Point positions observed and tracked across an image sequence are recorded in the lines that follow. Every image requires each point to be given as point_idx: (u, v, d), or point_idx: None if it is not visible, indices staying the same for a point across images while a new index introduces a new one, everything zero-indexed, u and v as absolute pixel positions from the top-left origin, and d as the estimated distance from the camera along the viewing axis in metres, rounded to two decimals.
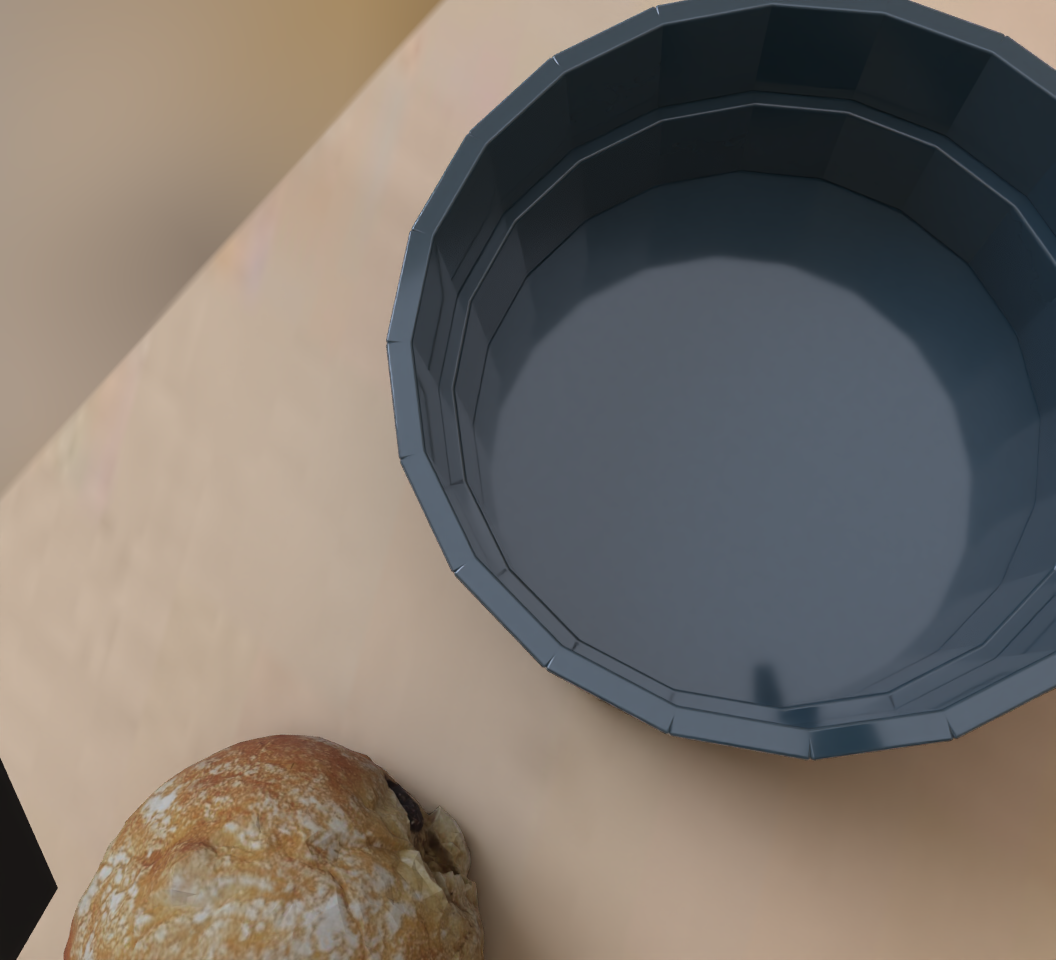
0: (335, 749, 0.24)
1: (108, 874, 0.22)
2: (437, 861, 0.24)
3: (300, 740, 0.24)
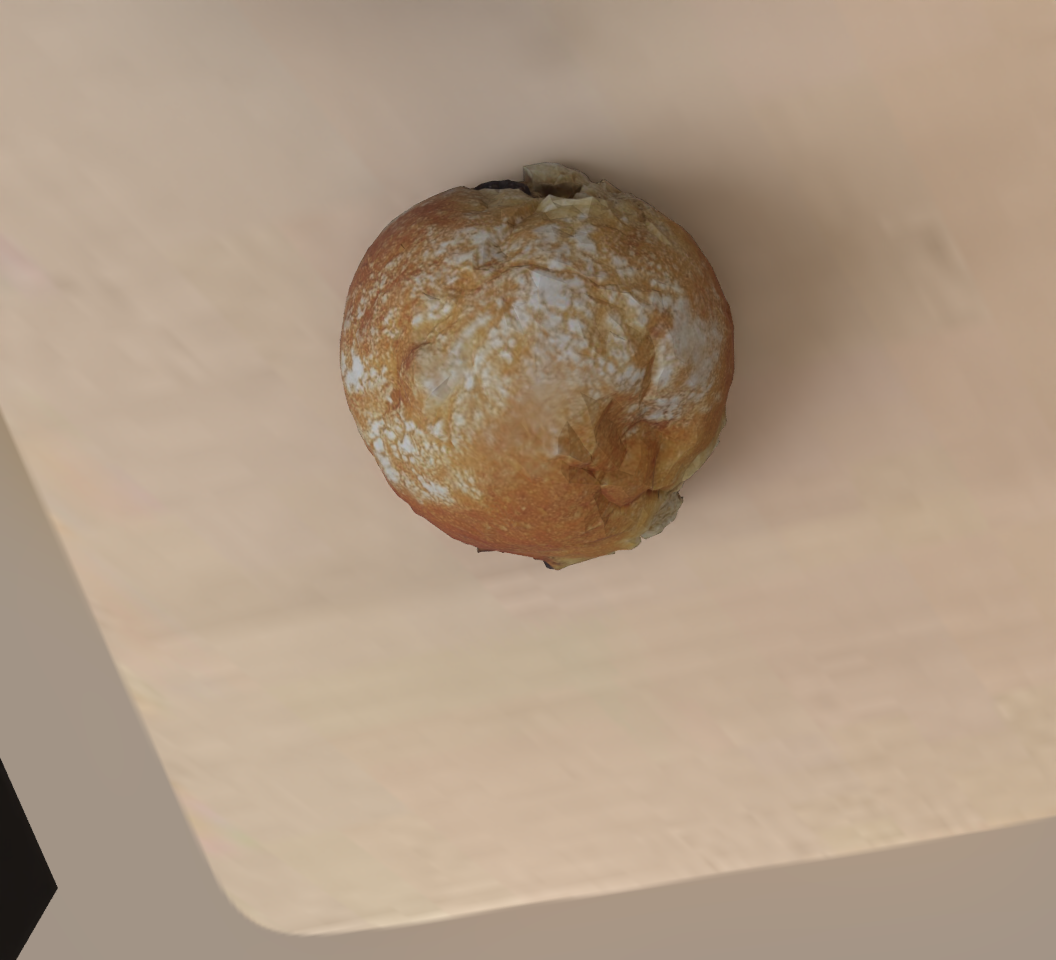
0: (414, 209, 0.23)
1: (382, 443, 0.23)
2: (564, 198, 0.24)
3: (385, 232, 0.23)
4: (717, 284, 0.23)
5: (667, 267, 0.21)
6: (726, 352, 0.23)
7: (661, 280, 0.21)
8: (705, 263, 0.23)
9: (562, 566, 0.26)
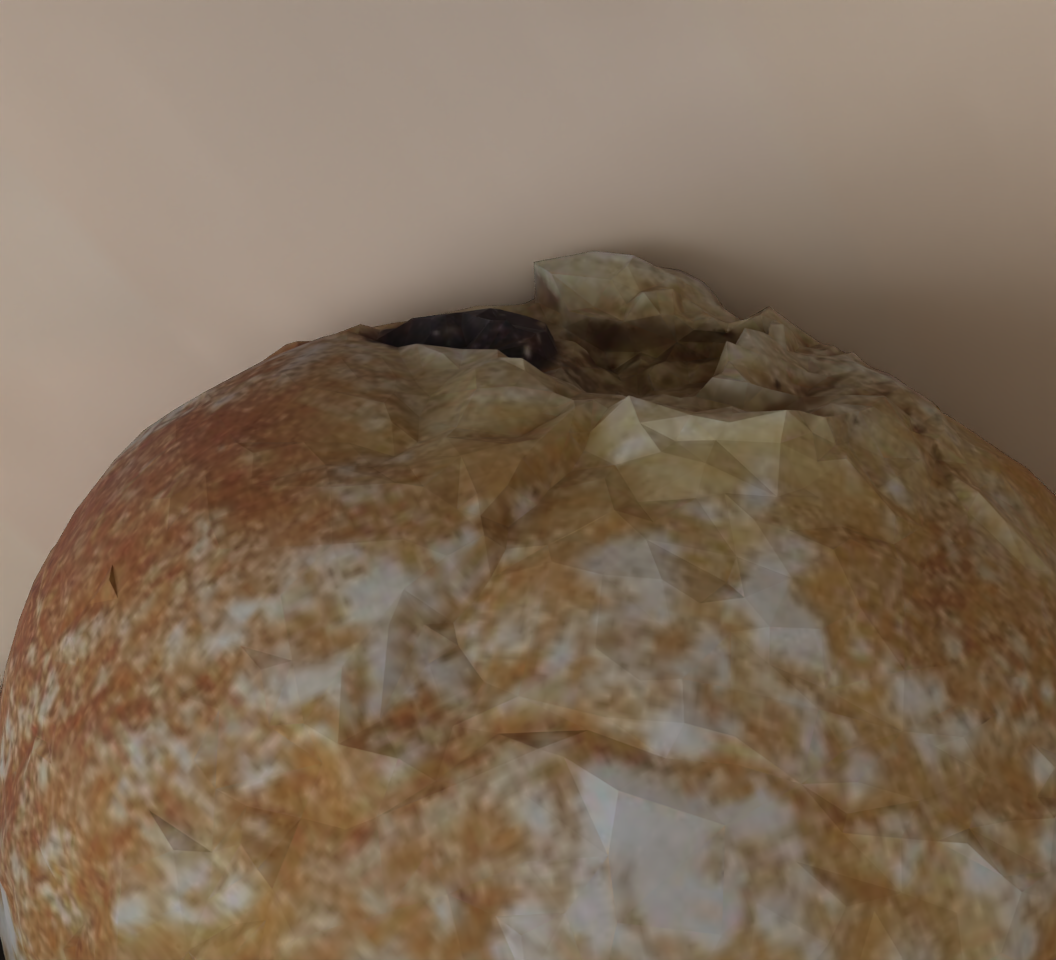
0: (190, 415, 0.07)
1: None
2: (653, 358, 0.08)
3: (100, 487, 0.07)
4: None
5: None
6: None
7: None
8: None
9: None
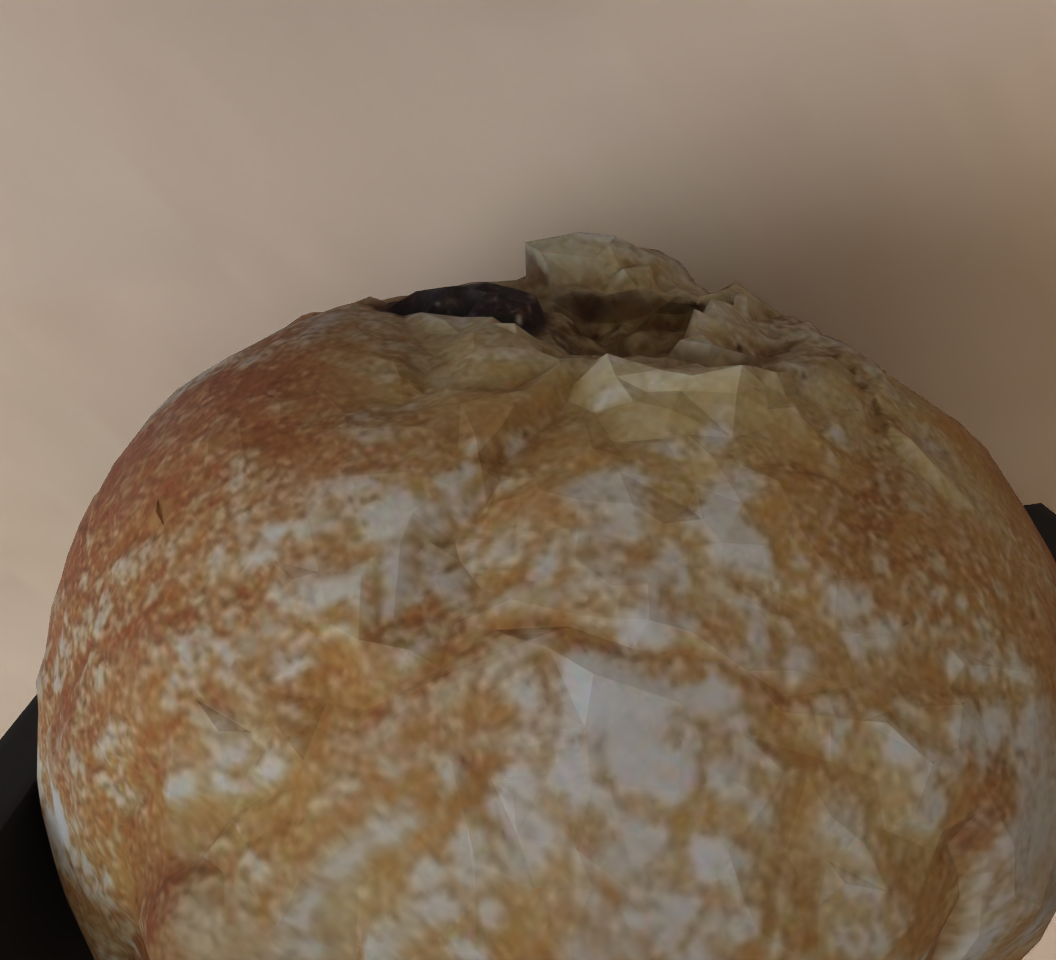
0: (220, 374, 0.08)
1: None
2: (631, 329, 0.09)
3: (140, 438, 0.08)
4: None
5: (984, 599, 0.07)
6: None
7: (975, 652, 0.07)
8: (1035, 533, 0.08)
9: None
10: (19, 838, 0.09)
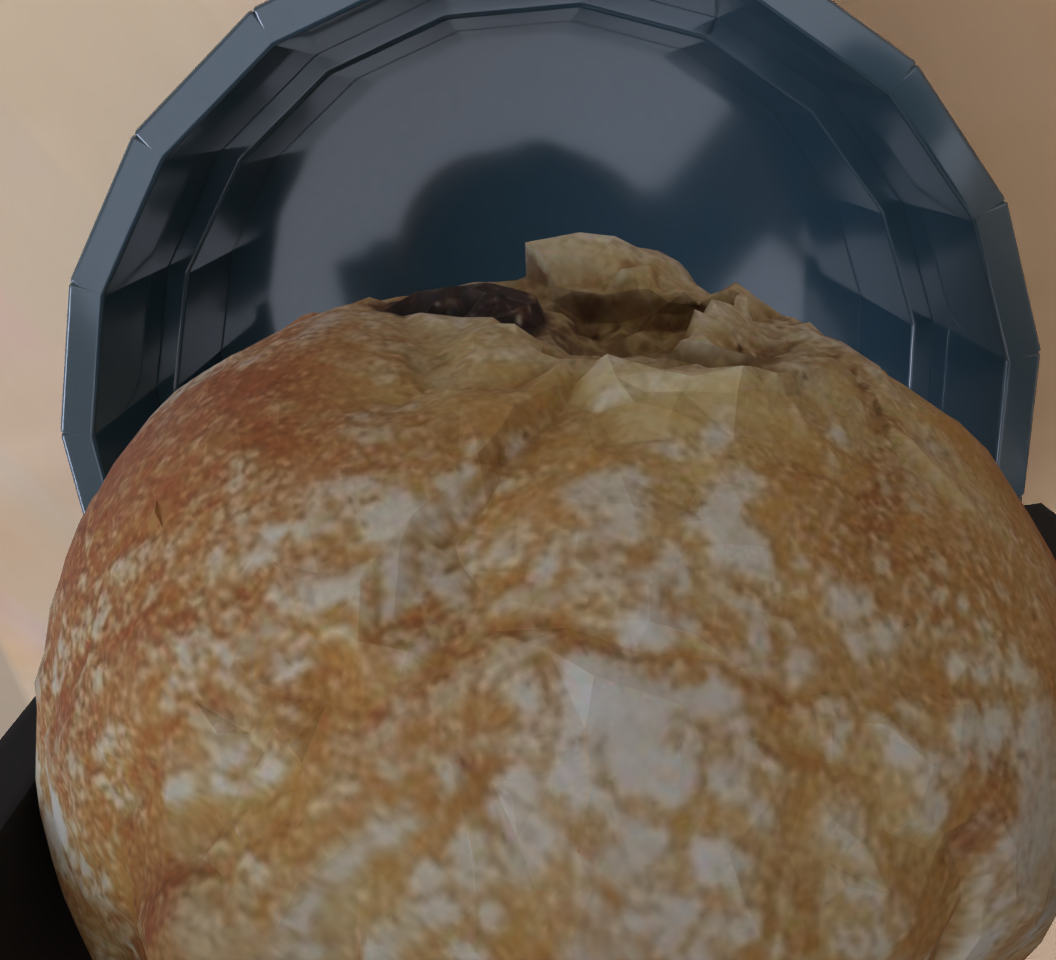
0: (220, 374, 0.08)
1: None
2: (632, 328, 0.09)
3: (139, 438, 0.08)
4: None
5: (984, 601, 0.07)
6: None
7: (977, 654, 0.07)
8: (1037, 534, 0.08)
9: None
10: (19, 838, 0.09)
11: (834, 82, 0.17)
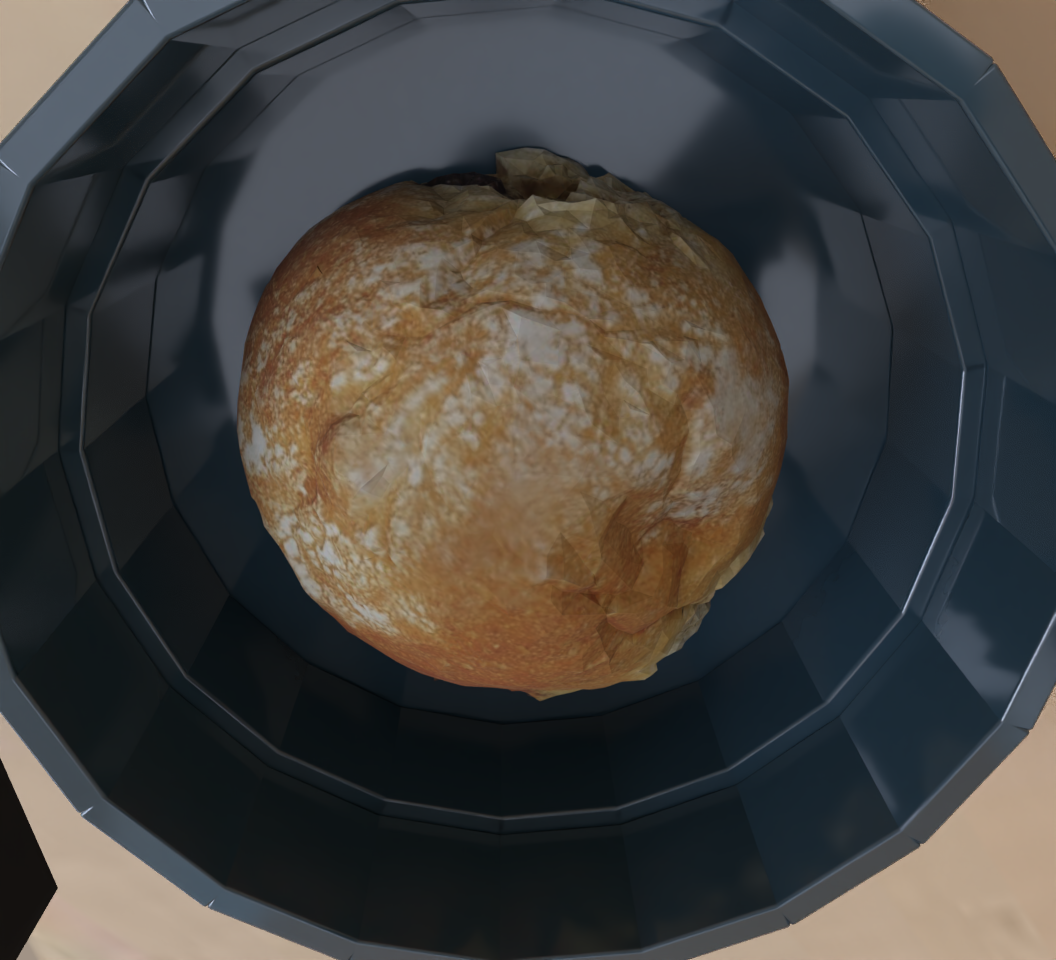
0: (339, 213, 0.16)
1: (296, 545, 0.16)
2: (553, 199, 0.17)
3: (297, 246, 0.16)
4: (770, 323, 0.16)
5: (705, 303, 0.15)
6: (782, 419, 0.16)
7: (697, 323, 0.15)
8: (753, 293, 0.16)
9: (549, 697, 0.19)
10: None
11: (881, 83, 0.13)
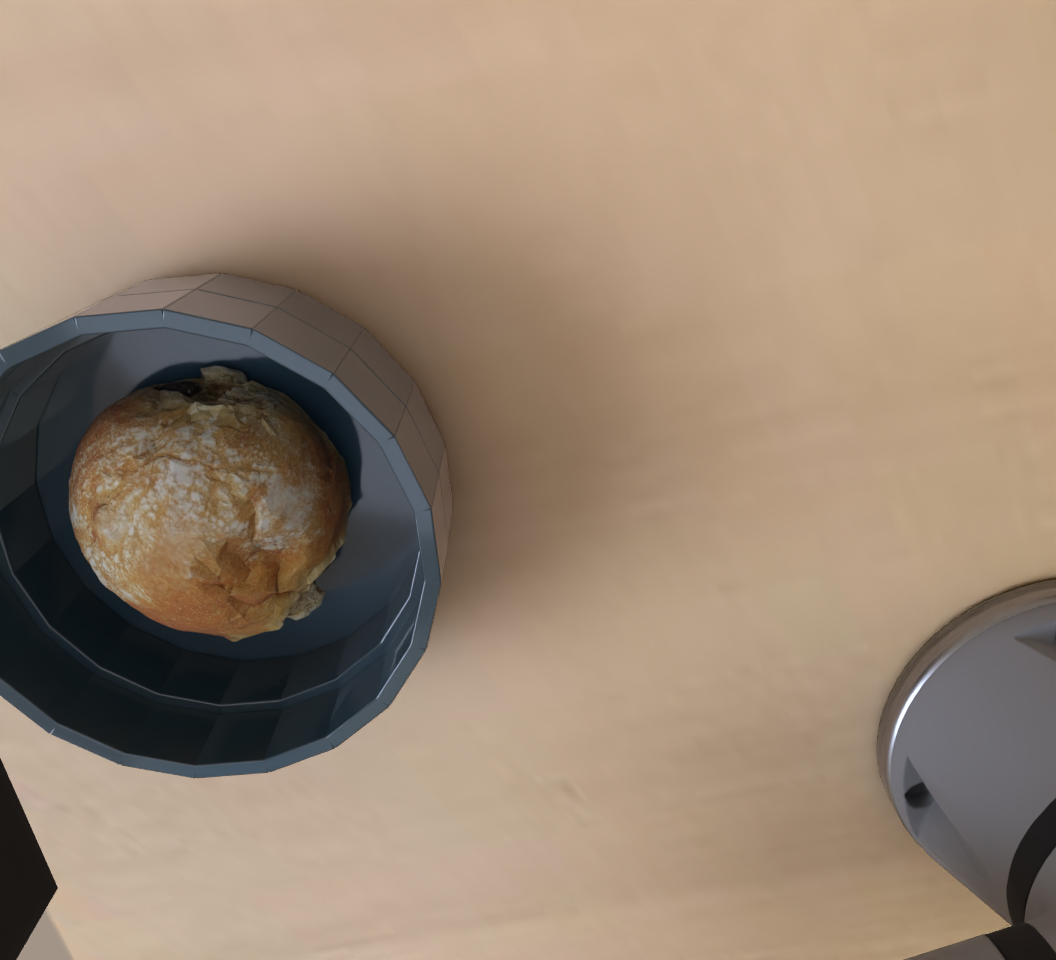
0: (113, 405, 0.34)
1: (94, 561, 0.34)
2: None
3: (94, 420, 0.34)
4: (316, 457, 0.34)
5: (267, 453, 0.33)
6: (323, 502, 0.34)
7: (261, 463, 0.33)
8: (308, 443, 0.34)
9: (237, 639, 0.37)
10: None
11: None
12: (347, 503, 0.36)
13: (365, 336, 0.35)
